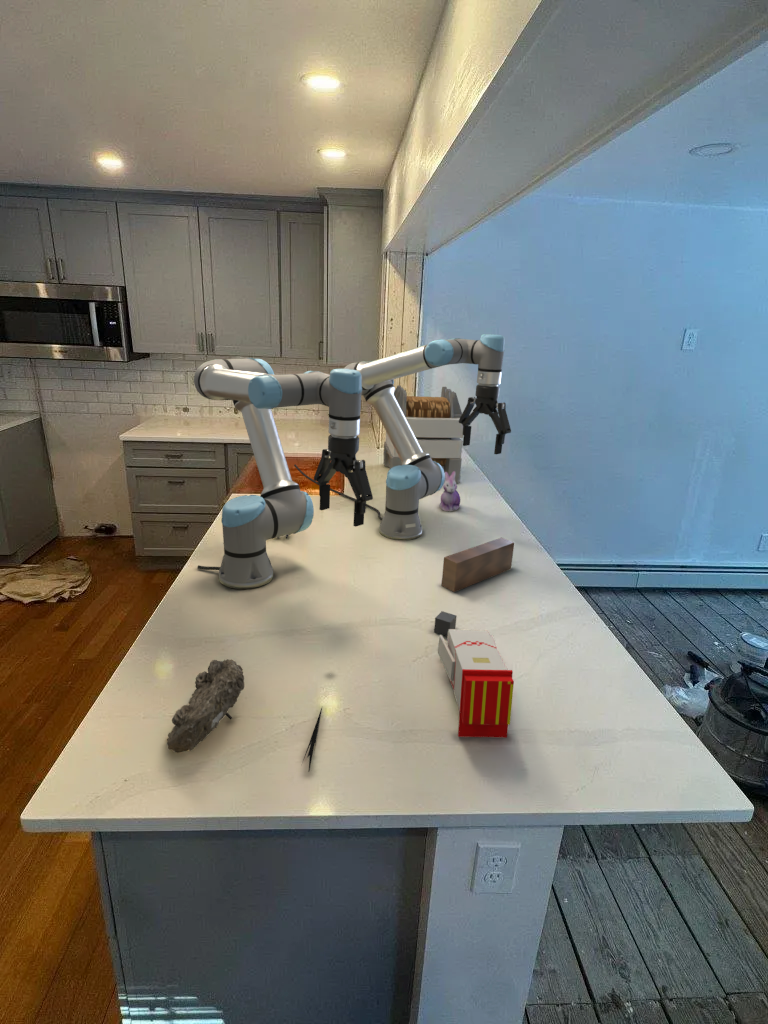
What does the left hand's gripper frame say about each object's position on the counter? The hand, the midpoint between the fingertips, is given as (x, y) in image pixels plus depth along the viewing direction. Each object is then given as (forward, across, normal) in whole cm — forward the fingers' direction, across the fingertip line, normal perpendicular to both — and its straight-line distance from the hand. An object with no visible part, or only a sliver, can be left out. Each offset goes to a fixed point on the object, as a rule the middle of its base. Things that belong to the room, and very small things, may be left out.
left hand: (341, 516), depth 145 cm
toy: (+23, +48, -4) cm, 53 cm away
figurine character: (+25, -48, +15) cm, 56 cm away
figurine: (+25, -31, +83) cm, 92 cm away
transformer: (+26, -73, +110) cm, 135 cm away
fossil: (+24, +21, -48) cm, 57 cm away
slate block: (+23, +29, +11) cm, 39 cm away
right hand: (-7, -6, +65) cm, 66 cm away
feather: (+23, +34, -33) cm, 53 cm away
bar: (+24, +15, +41) cm, 50 cm away
